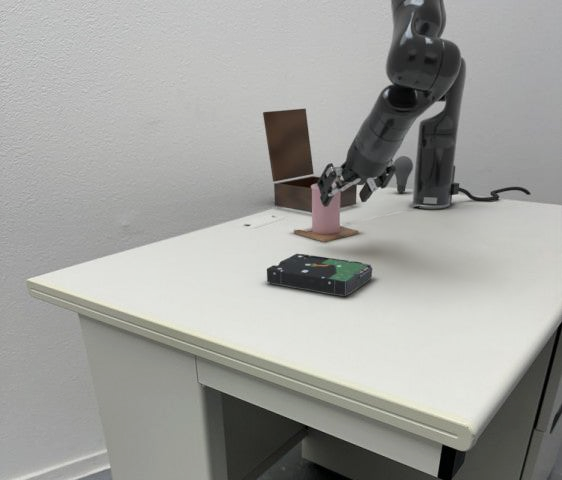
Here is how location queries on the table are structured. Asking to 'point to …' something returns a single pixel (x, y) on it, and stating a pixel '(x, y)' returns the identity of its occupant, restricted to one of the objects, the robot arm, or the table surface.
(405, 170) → the light bulb
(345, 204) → the chest
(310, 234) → the cork pad
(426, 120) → the robot arm
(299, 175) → the chest lid
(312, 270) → the disk drive
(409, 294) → the table surface
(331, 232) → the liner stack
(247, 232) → the table surface
